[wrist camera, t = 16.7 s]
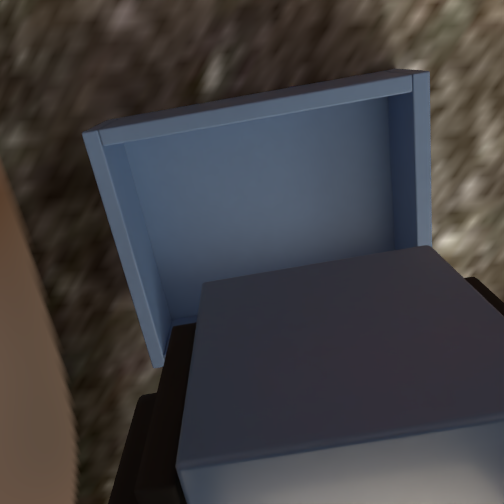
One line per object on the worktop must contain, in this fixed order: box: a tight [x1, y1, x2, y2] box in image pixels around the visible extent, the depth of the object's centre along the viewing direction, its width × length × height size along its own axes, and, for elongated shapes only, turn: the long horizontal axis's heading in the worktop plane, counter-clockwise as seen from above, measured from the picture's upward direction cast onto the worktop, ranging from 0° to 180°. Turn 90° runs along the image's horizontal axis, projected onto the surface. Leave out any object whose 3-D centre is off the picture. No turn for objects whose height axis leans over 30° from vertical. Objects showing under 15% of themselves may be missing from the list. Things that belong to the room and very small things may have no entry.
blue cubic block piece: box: [175, 245, 504, 504], centre depth 8 cm, size 4×4×4 cm
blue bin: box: [82, 69, 432, 368], centre depth 19 cm, size 12×10×4 cm
